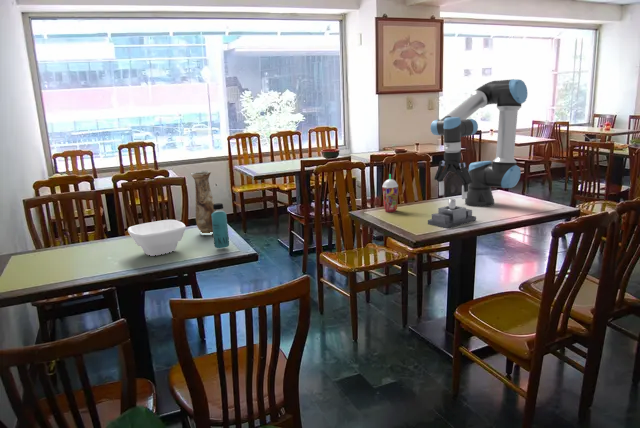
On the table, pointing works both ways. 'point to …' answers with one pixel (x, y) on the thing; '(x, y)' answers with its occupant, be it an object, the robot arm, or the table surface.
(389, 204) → the smoothie
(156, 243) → the bowl
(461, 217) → the grey square socket block
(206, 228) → the vase
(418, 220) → the table surface
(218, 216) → the beverage bottle
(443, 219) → the shaft stand
